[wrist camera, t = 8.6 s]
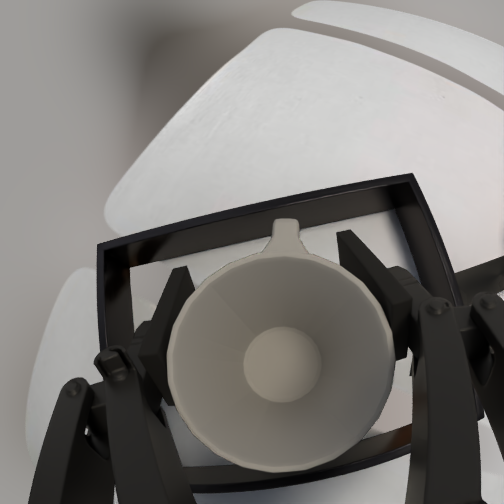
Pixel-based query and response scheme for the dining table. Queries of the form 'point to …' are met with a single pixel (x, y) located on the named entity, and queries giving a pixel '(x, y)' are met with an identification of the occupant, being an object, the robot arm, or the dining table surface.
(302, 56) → the dining table surface
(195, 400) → the cup
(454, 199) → the dining table surface
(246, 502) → the dining table surface
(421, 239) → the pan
